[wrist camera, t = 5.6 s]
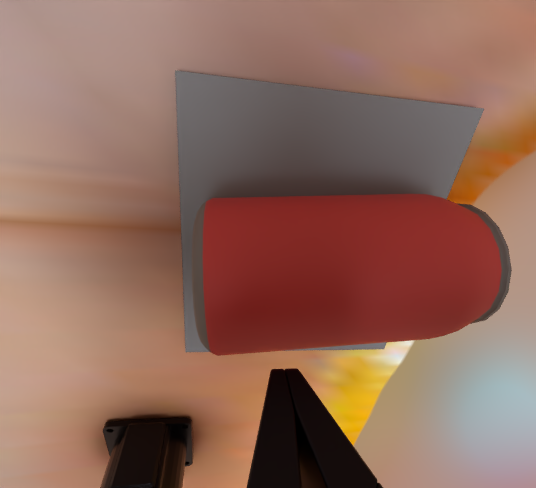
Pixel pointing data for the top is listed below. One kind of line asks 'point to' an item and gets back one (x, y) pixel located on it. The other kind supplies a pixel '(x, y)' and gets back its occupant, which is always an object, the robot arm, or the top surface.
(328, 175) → the mat
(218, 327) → the beer can
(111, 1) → the top surface
